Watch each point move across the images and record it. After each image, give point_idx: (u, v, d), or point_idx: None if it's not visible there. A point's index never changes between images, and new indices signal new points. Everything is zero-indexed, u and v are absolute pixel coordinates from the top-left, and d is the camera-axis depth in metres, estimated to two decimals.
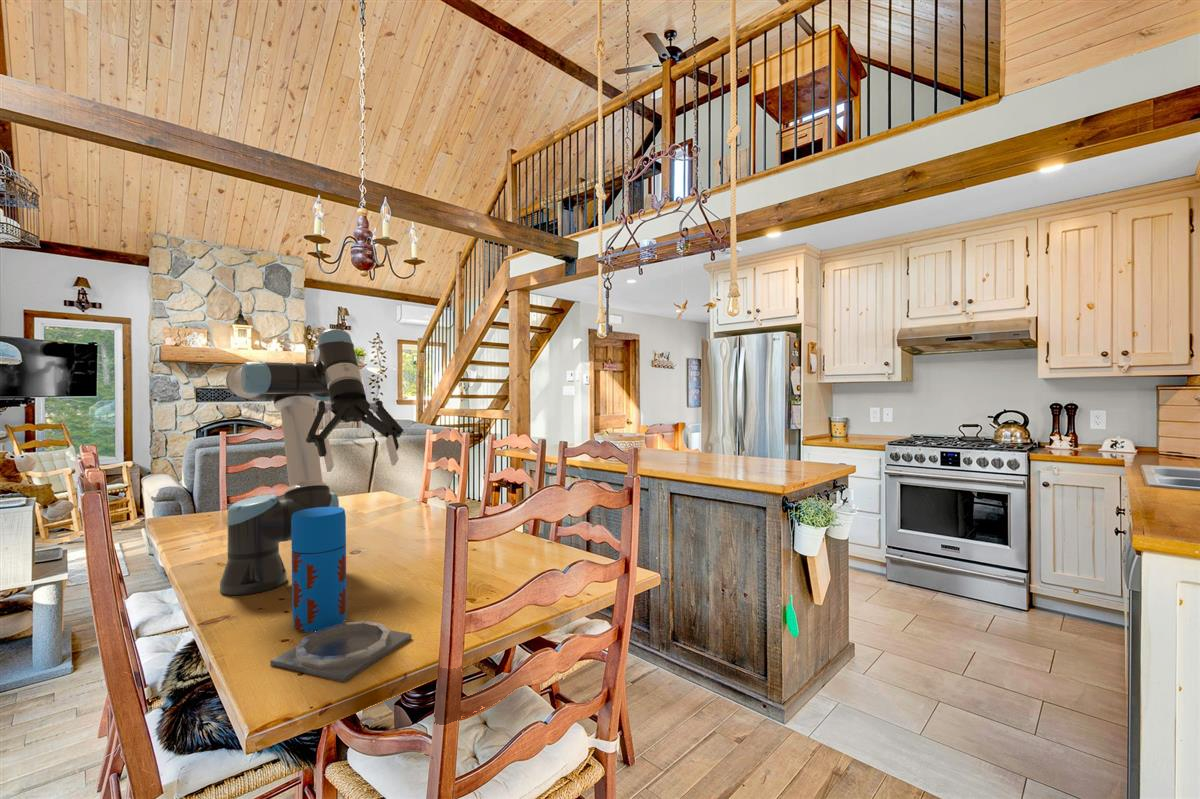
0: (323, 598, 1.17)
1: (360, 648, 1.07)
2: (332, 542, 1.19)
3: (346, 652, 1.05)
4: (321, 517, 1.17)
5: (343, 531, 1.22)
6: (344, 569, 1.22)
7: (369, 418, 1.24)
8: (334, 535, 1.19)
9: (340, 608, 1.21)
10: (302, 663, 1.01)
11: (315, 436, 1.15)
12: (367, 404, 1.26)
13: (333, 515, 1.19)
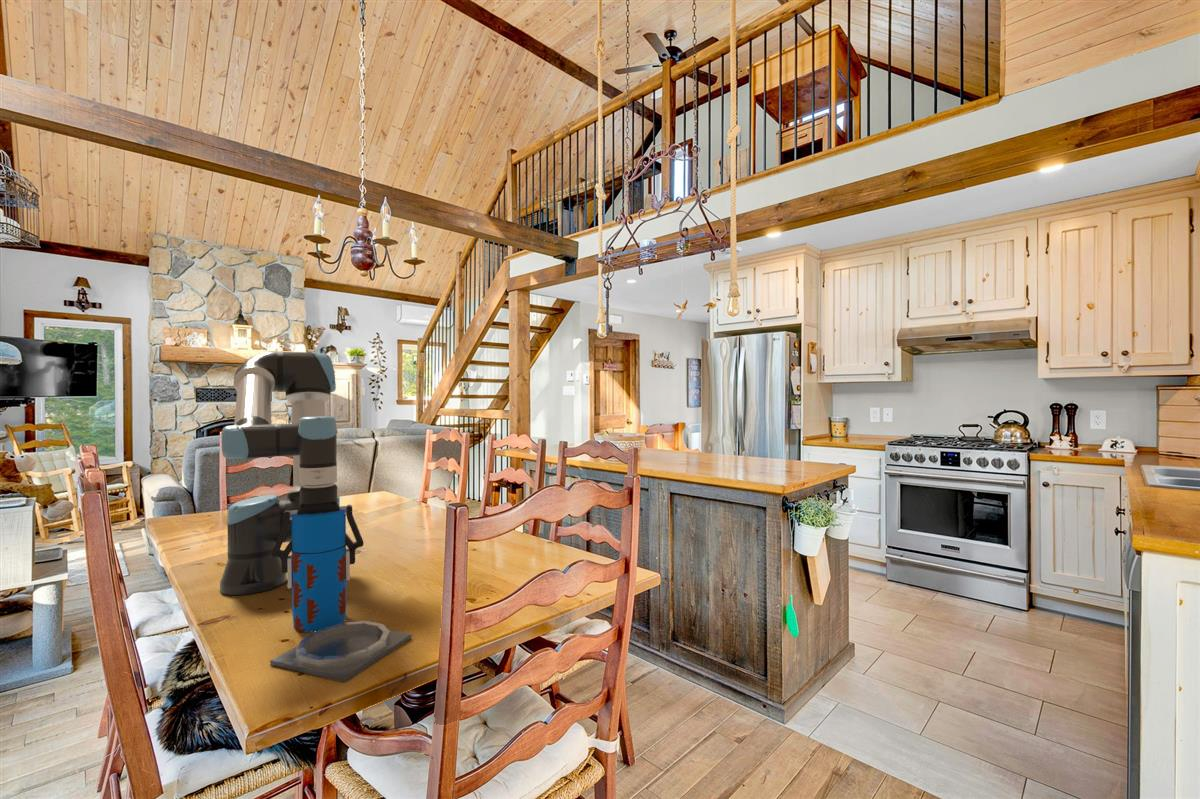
0: (323, 598, 1.17)
1: (360, 648, 1.07)
2: (332, 542, 1.19)
3: (346, 652, 1.05)
4: (321, 517, 1.17)
5: (343, 531, 1.22)
6: (344, 569, 1.22)
7: None
8: (334, 535, 1.19)
9: (340, 608, 1.21)
10: (302, 663, 1.01)
11: (279, 553, 1.18)
12: (336, 510, 1.22)
13: (333, 515, 1.19)
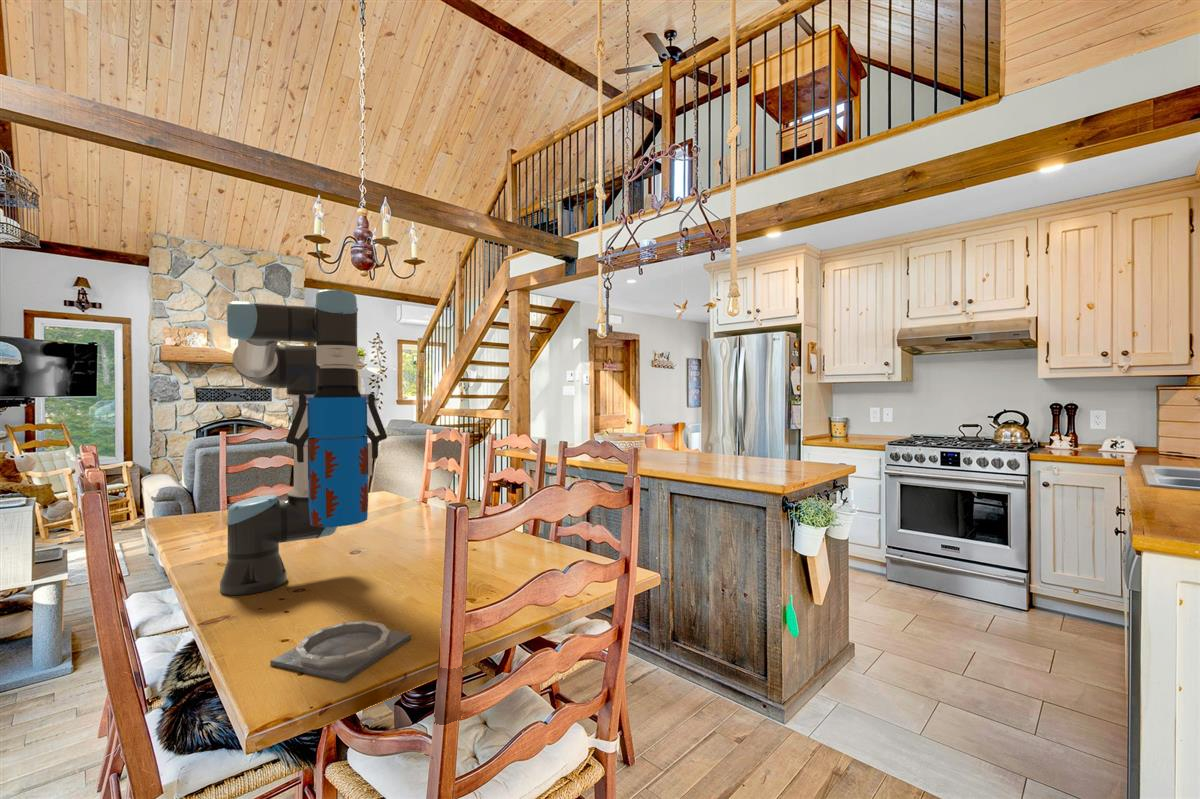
0: (343, 490, 1.05)
1: (360, 648, 1.07)
2: (353, 428, 1.06)
3: (346, 652, 1.05)
4: (341, 398, 1.05)
5: (364, 420, 1.09)
6: (366, 463, 1.10)
7: None
8: (356, 420, 1.07)
9: (362, 504, 1.08)
10: (302, 663, 1.01)
11: (295, 440, 1.05)
12: None
13: (354, 398, 1.06)
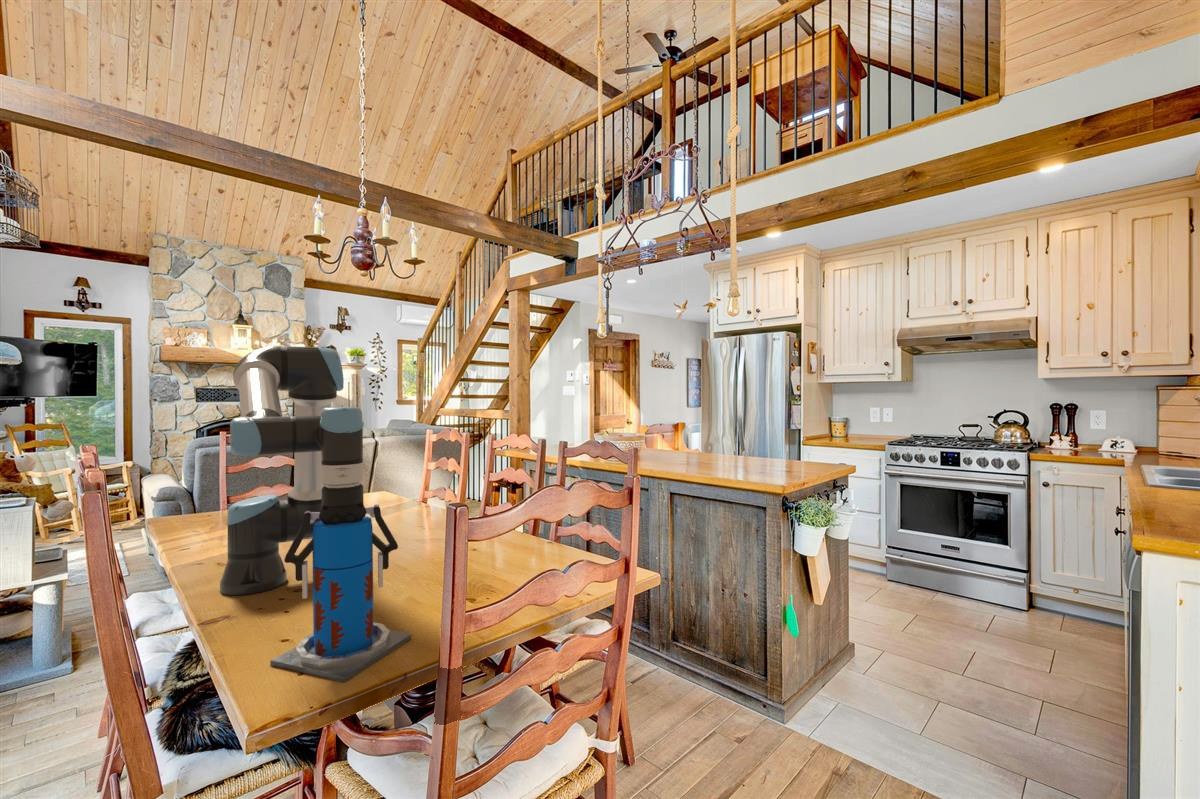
0: (349, 620, 1.04)
1: None
2: (359, 556, 1.05)
3: None
4: (347, 528, 1.03)
5: (370, 544, 1.08)
6: (372, 587, 1.09)
7: None
8: (361, 548, 1.05)
9: (367, 631, 1.07)
10: (302, 663, 1.01)
11: (293, 559, 1.03)
12: (362, 513, 1.08)
13: (360, 525, 1.05)
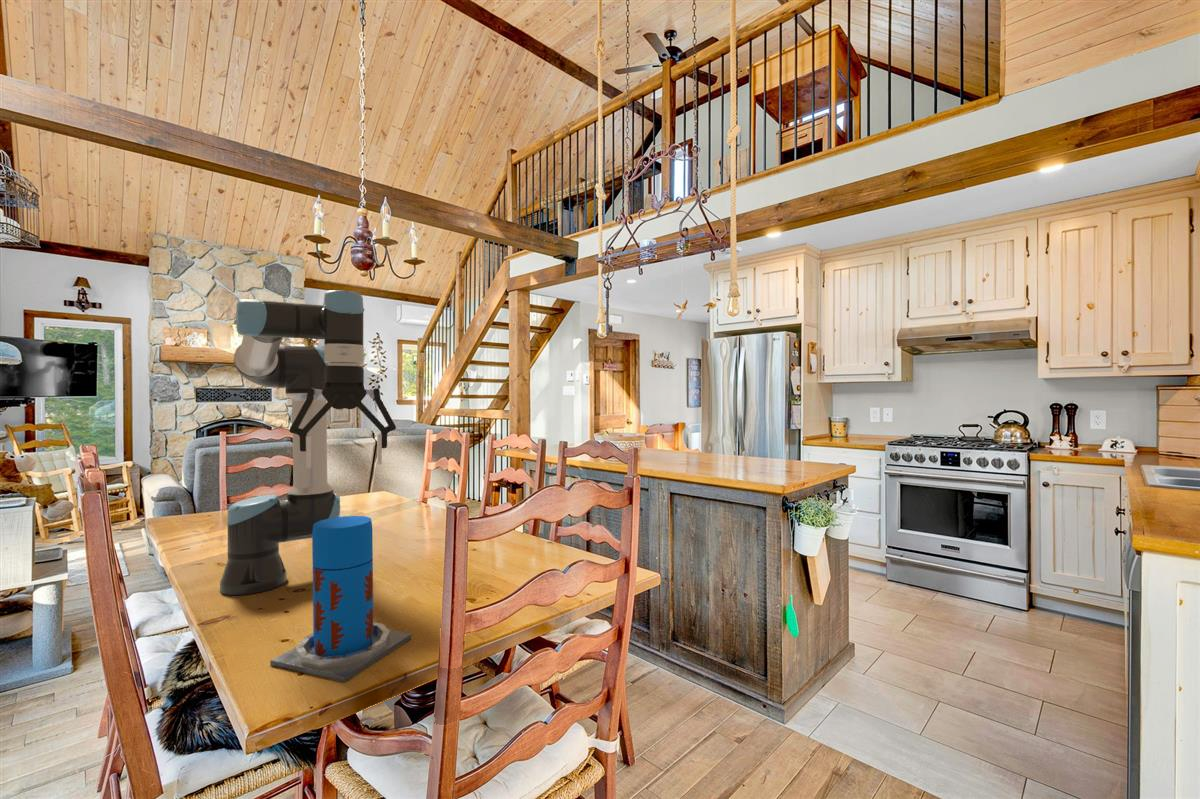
0: (349, 620, 1.03)
1: None
2: (359, 556, 1.05)
3: None
4: (346, 528, 1.03)
5: (370, 544, 1.08)
6: (372, 587, 1.09)
7: (361, 410, 1.15)
8: (361, 548, 1.05)
9: (367, 631, 1.07)
10: (302, 663, 1.01)
11: (297, 431, 1.10)
12: (362, 393, 1.15)
13: (360, 526, 1.05)
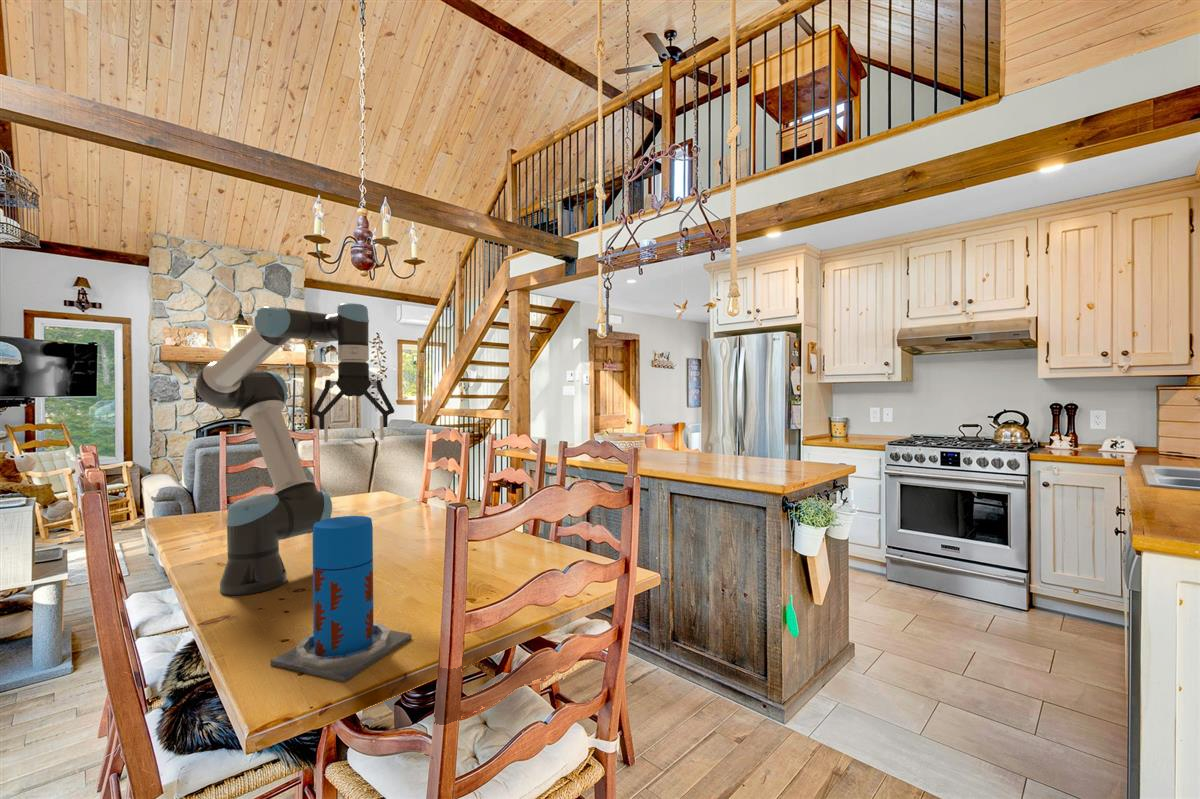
0: (349, 620, 1.03)
1: None
2: (359, 557, 1.05)
3: None
4: (347, 528, 1.03)
5: (370, 544, 1.08)
6: (372, 587, 1.09)
7: (367, 397, 1.46)
8: (361, 548, 1.05)
9: (367, 631, 1.07)
10: (302, 663, 1.01)
11: (317, 413, 1.41)
12: (368, 383, 1.46)
13: (360, 526, 1.05)
